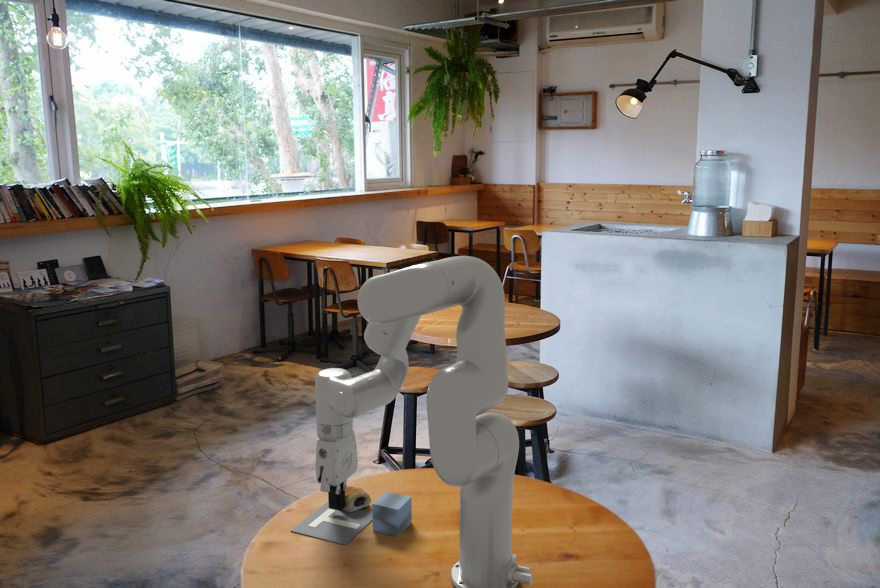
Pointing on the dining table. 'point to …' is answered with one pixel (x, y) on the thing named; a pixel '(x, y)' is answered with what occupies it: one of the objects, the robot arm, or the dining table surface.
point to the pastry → (355, 499)
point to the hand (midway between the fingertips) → (337, 507)
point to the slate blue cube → (392, 513)
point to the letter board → (334, 524)
